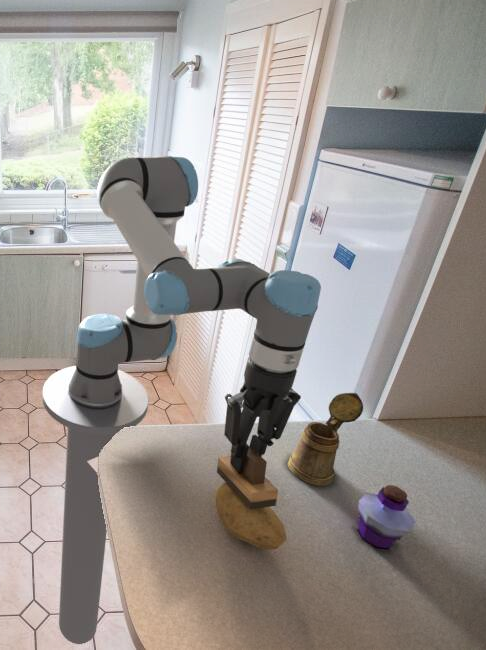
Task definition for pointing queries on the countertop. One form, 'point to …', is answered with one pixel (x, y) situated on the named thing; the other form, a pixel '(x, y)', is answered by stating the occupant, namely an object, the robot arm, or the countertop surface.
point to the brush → (249, 480)
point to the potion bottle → (384, 517)
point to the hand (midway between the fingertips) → (243, 466)
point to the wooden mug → (324, 441)
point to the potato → (249, 520)
